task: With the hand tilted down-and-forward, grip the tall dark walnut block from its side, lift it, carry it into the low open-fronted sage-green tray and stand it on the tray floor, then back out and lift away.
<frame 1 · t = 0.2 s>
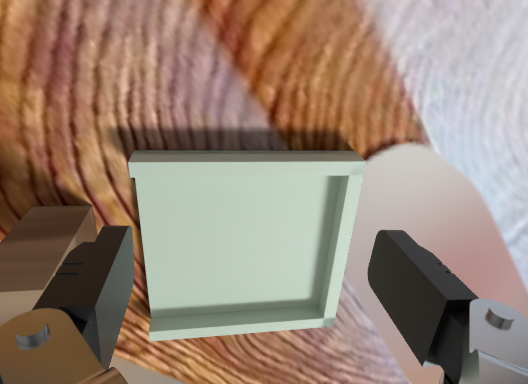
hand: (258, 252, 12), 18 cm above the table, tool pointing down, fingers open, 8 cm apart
block: (67, 229, 30), on the table
tray: (245, 242, 33), on the table
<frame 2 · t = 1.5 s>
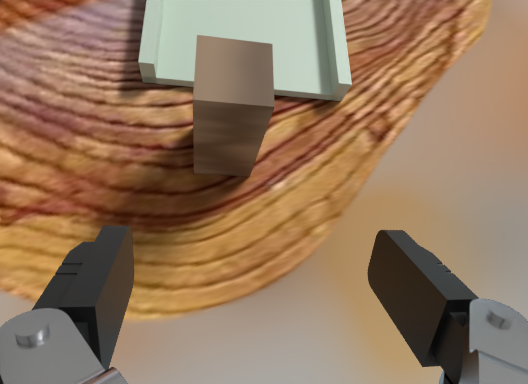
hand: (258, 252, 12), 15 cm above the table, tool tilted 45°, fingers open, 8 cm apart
block: (222, 150, 29), on the table
tray: (246, 16, 35), on the table
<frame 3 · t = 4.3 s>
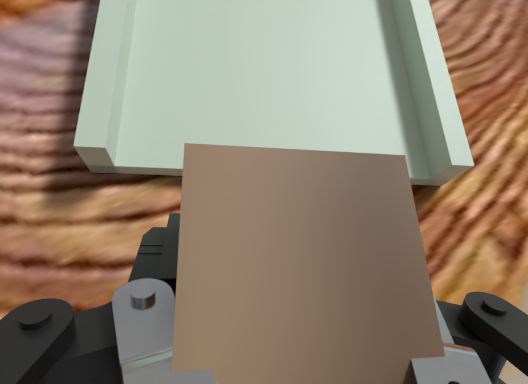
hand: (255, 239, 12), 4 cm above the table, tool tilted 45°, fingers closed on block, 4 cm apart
block: (243, 305, 15), on the table, touching gripper
tray: (273, 41, 21), on the table
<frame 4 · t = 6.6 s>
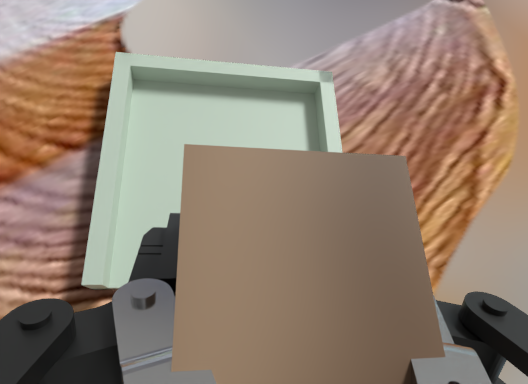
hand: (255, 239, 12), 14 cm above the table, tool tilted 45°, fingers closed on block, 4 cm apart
block: (243, 305, 15), point 10 cm above the table, touching gripper
tray: (227, 172, 29), on the table
when the fingers open (6 cm above the table, at t = 9.4 s): block stays where it is, resting on tray.
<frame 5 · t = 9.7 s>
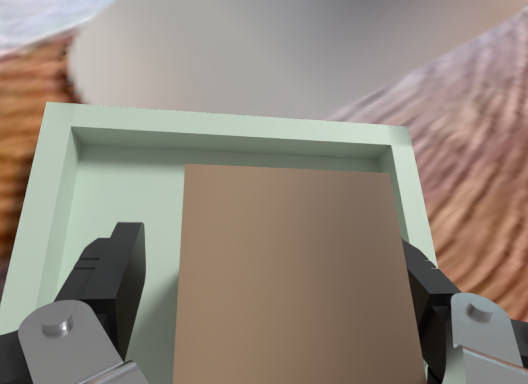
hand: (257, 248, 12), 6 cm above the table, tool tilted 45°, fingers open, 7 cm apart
block: (241, 308, 16), point 1 cm above the table, touching tray
tray: (239, 307, 17), on the table
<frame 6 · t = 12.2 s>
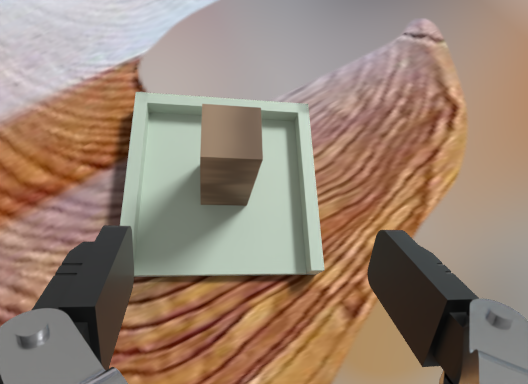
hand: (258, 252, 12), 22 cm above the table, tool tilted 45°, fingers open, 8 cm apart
block: (224, 184, 35), point 1 cm above the table, touching tray
tray: (223, 186, 36), on the table
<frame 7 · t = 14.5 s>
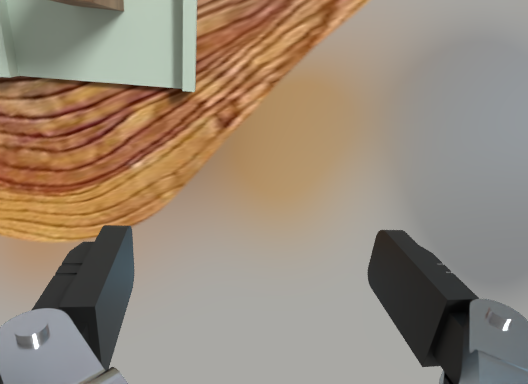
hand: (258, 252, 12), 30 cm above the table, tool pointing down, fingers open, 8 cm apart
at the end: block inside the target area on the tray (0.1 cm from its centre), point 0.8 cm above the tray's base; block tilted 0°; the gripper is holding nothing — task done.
